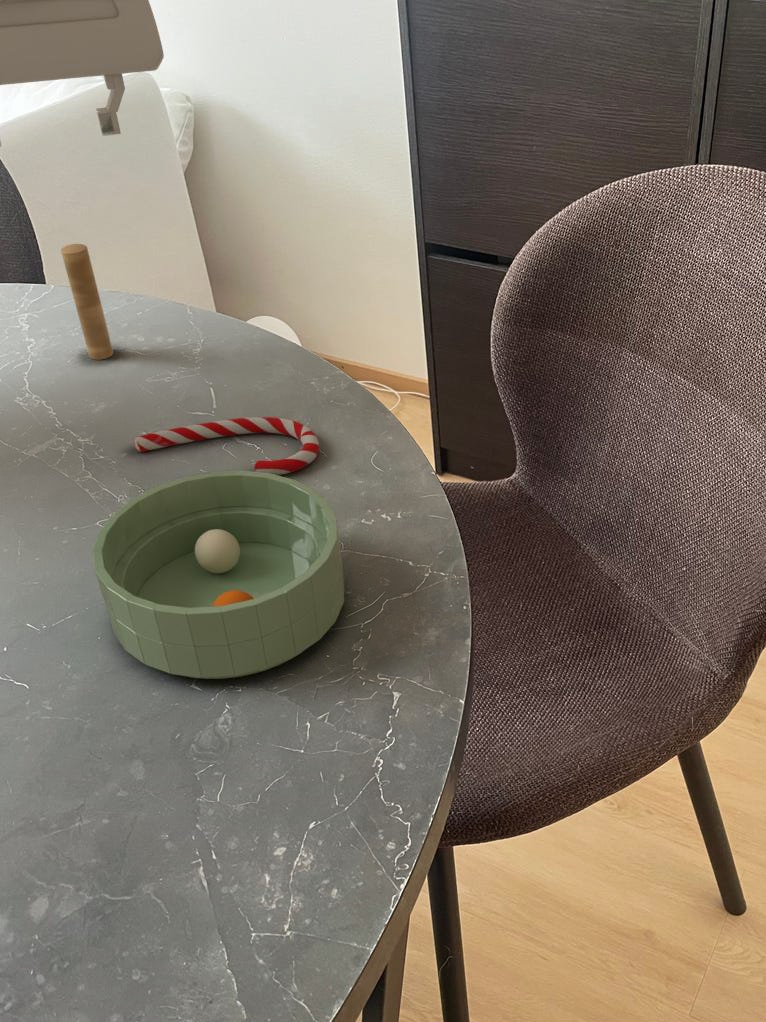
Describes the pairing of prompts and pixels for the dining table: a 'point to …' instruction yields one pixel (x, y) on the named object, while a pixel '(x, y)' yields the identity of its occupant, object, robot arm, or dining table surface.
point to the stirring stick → (87, 301)
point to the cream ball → (217, 551)
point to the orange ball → (232, 598)
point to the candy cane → (241, 427)
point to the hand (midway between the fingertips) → (52, 139)
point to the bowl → (221, 574)
